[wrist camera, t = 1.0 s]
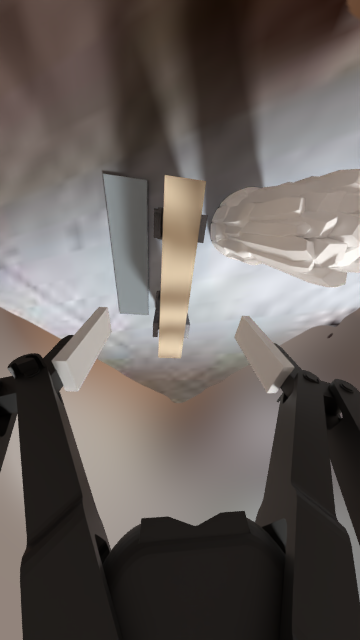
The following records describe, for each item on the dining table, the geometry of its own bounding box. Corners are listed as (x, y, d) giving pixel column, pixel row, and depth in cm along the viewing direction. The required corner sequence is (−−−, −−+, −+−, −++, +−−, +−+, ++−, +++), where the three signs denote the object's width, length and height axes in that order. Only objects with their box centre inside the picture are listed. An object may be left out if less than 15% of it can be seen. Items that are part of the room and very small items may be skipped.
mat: (104, 174, 25) (103, 173, 25) (147, 180, 26) (146, 180, 25) (120, 312, 39) (120, 313, 38) (148, 314, 39) (148, 315, 39)
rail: (166, 186, 19) (164, 175, 14) (198, 191, 19) (206, 181, 15) (159, 339, 31) (158, 357, 27) (179, 340, 32) (180, 358, 27)
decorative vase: (202, 247, 32) (267, 293, 10) (224, 182, 26) (444, 6, 5) (247, 262, 34) (378, 325, 13) (276, 204, 28) (586, 145, 7)
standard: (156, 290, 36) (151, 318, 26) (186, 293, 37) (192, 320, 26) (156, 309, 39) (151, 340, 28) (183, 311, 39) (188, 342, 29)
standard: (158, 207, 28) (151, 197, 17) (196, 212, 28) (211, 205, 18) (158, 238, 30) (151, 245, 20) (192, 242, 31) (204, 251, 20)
